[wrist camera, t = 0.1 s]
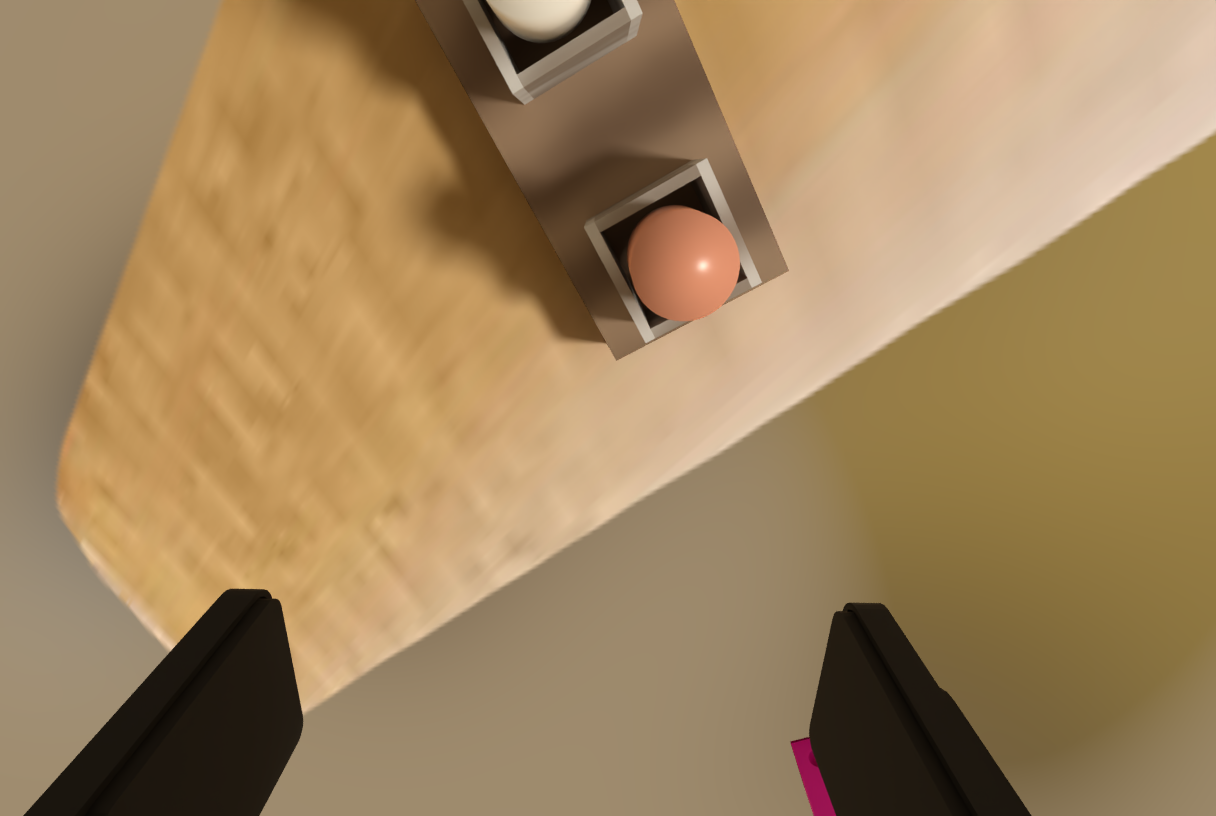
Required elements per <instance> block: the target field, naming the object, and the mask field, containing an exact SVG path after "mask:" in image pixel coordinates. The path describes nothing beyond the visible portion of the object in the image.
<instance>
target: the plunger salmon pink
mask: <svg viewBox="0 0 1216 816" xmlns="http://www.w3.org/2000/svg"><path fill="white" fill-rule="evenodd" d="M627 263H628V268H629V271H630V274H631V278H632V281H633V284H634V288H635V290H636V292H637V294H638V296H639V298H640V299H641V301H642V302H643V303H644V304H645V305H646V306H647V307H648V308H649V309H650V310H651V311H653V312H654V313H655V314H657V315H659V316H661V317H663V318H666V319H669V320H674V321H692V320H697V319H700V318H703V317H705V316H707V315H709V314H711V313H713V312H714V311H716V310H717V309H718V308H719V307H721V306H722V305H723V304H724V303H725V302H726V300H727V299H728V298H729V296H730V295H731V293H732V291H733V290H734V288H735V285H736V283H737V280H738V276H739V270H740V257H739V251H738V247H737V244H736V242H735V240H734V238H733V236H732V234H731V233H730V231H729V230H728V229H727V228H726V227H725V226H724V225H723V224H722V223H721V222H720V221H719V220H717V219H716V218H714V217H712V216H710V215H708V214H705V213H703V212H700V211H698V210H695V209H692V208H690V207H687V206H682V205H668V206H663V207H660V208H657V209H655V210H653V211H651V212H650V213H648V214H647V215H646V216H644V217H643V218H642V219H641V220H640V221H639V222H638V224H637V225H636V226H635V228H634V229H633V231H632V233H631V236H630V238H629V241H628V246H627Z"/></svg>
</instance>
